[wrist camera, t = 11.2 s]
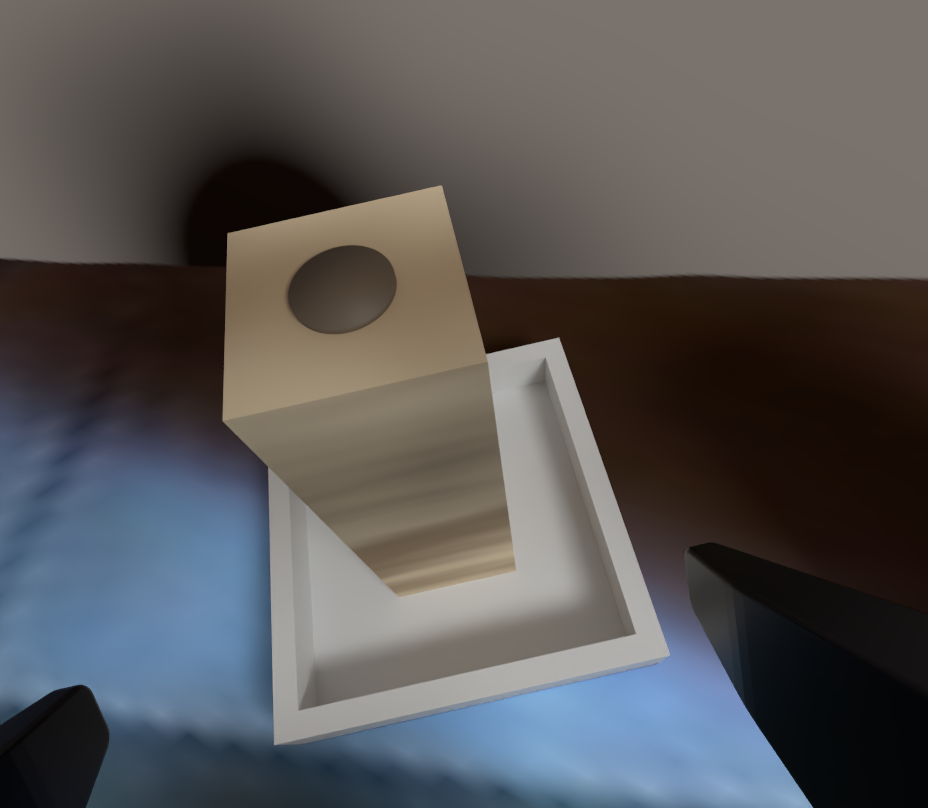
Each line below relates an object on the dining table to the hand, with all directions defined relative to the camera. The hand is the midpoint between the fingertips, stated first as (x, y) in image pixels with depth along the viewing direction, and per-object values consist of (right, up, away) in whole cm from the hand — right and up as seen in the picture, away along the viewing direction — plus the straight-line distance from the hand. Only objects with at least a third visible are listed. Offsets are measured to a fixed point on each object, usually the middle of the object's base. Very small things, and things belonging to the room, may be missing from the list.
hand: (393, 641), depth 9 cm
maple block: (0, -1, +14) cm, 14 cm away
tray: (0, -2, +15) cm, 15 cm away
